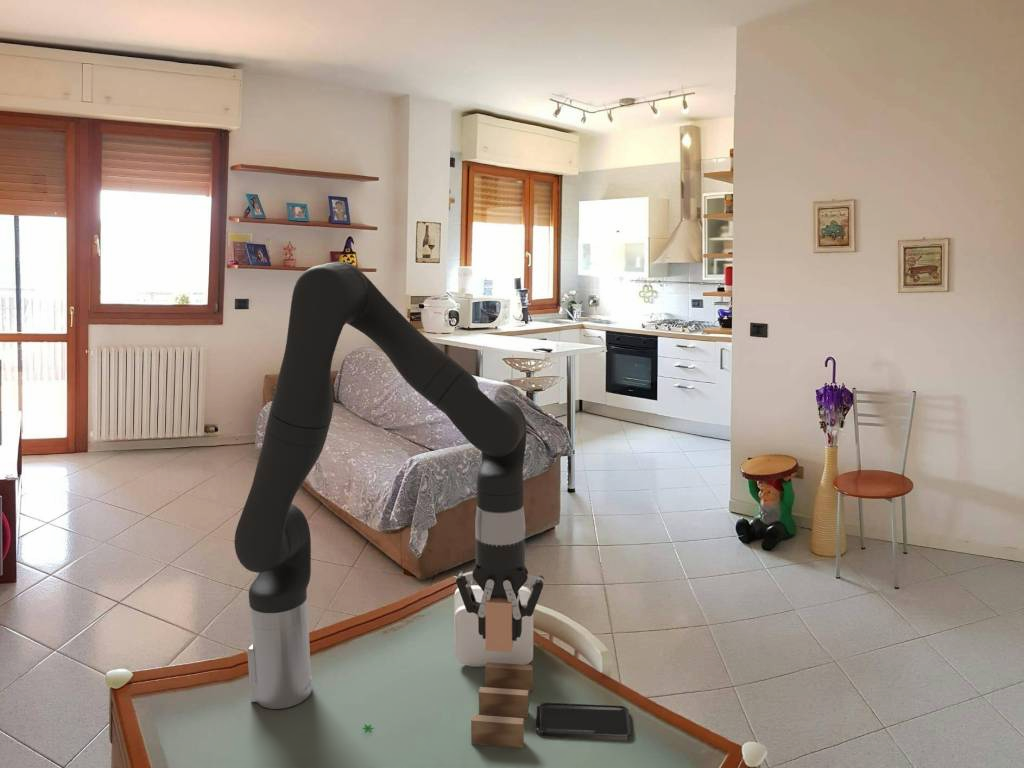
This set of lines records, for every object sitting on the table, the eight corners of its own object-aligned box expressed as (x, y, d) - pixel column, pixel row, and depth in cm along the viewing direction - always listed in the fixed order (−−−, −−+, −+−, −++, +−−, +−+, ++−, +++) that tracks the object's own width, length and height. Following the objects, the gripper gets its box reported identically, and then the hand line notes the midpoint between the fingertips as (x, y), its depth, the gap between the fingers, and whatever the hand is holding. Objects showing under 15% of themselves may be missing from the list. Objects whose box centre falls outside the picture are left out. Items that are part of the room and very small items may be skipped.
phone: (537, 702, 129) (628, 706, 128) (537, 708, 129) (627, 712, 128) (535, 732, 121) (631, 736, 120) (535, 738, 122) (631, 743, 121)
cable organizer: (450, 668, 141) (449, 608, 138) (455, 638, 151) (455, 582, 149) (532, 669, 140) (533, 610, 138) (532, 639, 151) (533, 583, 148)
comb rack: (471, 743, 120) (471, 720, 119) (486, 683, 136) (486, 662, 135) (522, 747, 119) (522, 724, 118) (532, 686, 135) (532, 665, 134)
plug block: (485, 650, 119) (485, 602, 118) (489, 637, 123) (489, 590, 122) (511, 651, 119) (511, 603, 117) (514, 638, 123) (514, 591, 121)
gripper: (449, 540, 115) (450, 647, 118) (545, 545, 113) (544, 653, 116) (458, 522, 122) (459, 622, 125) (548, 526, 120) (547, 628, 124)
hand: (500, 636), depth 121 cm, fingers closed on plug block, 4 cm apart
